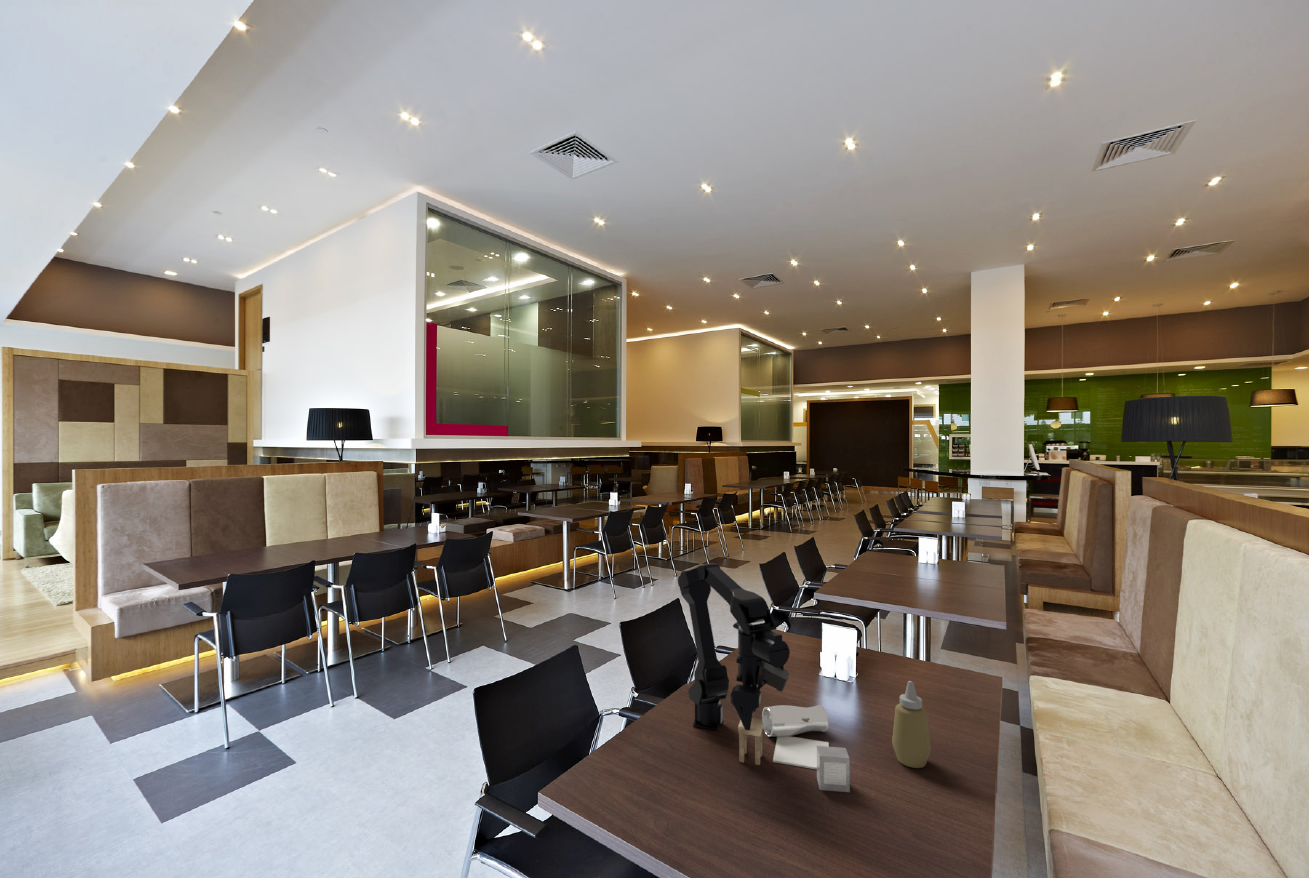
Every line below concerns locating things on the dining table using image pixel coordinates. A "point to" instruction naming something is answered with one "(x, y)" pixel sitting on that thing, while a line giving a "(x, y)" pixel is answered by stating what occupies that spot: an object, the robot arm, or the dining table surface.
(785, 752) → the felt pad
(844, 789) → the napkin dispenser
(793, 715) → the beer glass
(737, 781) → the dining table surface
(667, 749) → the dining table surface
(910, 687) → the squeeze bottle
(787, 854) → the dining table surface
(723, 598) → the robot arm
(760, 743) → the stool
